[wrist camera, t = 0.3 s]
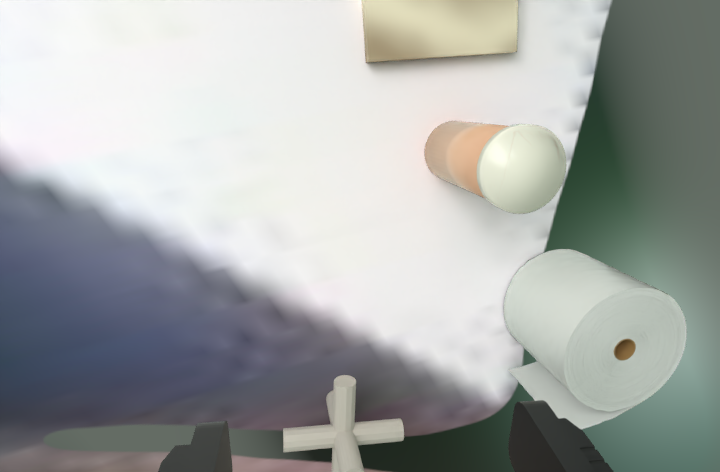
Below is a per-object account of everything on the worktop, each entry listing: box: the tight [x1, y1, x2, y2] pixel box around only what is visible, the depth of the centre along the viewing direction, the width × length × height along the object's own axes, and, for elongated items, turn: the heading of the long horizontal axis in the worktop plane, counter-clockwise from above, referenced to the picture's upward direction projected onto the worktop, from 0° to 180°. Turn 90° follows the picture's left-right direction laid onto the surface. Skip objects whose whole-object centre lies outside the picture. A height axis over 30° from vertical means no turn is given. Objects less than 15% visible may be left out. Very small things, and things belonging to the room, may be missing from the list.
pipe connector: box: [283, 375, 404, 472], centre depth 40 cm, size 10×10×10 cm
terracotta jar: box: [425, 121, 566, 214], centre depth 34 cm, size 5×5×12 cm
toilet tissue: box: [504, 249, 687, 429], centre depth 41 cm, size 11×12×10 cm
